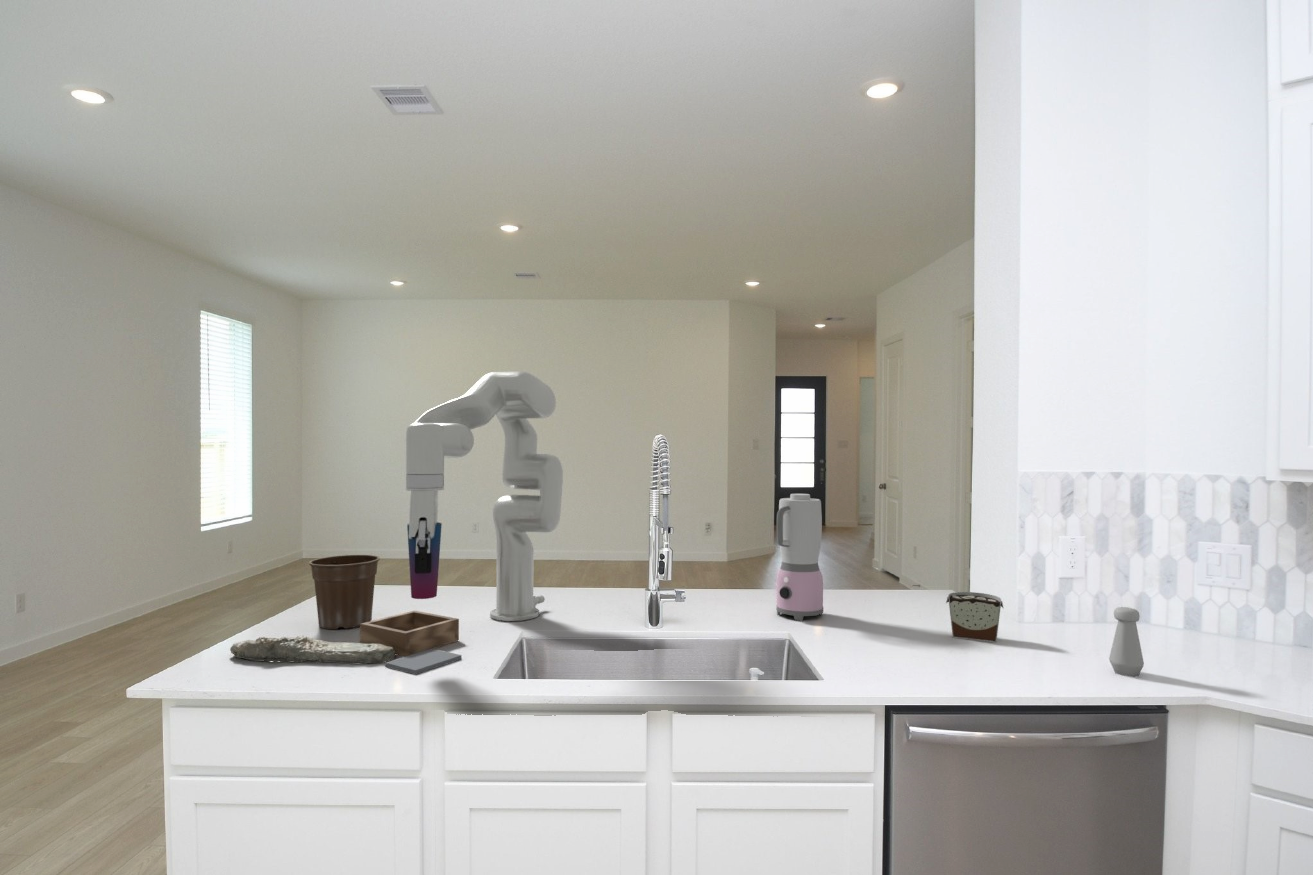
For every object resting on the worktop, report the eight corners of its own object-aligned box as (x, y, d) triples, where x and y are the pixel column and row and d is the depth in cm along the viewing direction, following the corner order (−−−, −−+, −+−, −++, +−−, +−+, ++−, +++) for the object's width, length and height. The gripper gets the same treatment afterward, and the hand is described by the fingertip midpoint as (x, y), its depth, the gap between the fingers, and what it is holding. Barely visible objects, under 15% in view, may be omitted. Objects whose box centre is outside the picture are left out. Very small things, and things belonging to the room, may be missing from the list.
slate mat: (432, 652, 158) (432, 648, 158) (461, 658, 154) (461, 655, 154) (385, 666, 148) (385, 662, 148) (415, 674, 143) (415, 670, 143)
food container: (1003, 636, 173) (1003, 594, 173) (1003, 643, 168) (1003, 599, 168) (947, 630, 178) (947, 589, 178) (945, 636, 173) (946, 594, 173)
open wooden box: (414, 631, 175) (414, 610, 175) (458, 640, 167) (458, 618, 167) (360, 646, 163) (360, 623, 163) (405, 657, 155) (405, 633, 155)
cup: (430, 600, 147) (431, 526, 147) (400, 599, 148) (400, 525, 148) (447, 593, 154) (447, 522, 154) (417, 592, 155) (418, 521, 155)
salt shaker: (1102, 668, 149) (1102, 605, 149) (1129, 668, 149) (1129, 604, 149) (1123, 678, 143) (1123, 611, 143) (1150, 677, 144) (1150, 611, 144)
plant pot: (293, 628, 178) (293, 561, 178) (344, 613, 193) (344, 552, 193) (344, 635, 172) (344, 566, 172) (393, 619, 187) (393, 556, 187)
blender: (795, 607, 202) (796, 491, 202) (833, 615, 193) (833, 494, 193) (758, 616, 192) (759, 494, 192) (796, 625, 183) (797, 497, 183)
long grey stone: (381, 675, 148) (401, 663, 158) (383, 649, 148) (403, 638, 158) (216, 661, 150) (247, 650, 160) (219, 635, 151) (249, 625, 161)
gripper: (410, 480, 159) (409, 563, 158) (401, 485, 142) (400, 578, 142) (446, 480, 160) (445, 562, 160) (441, 485, 143) (440, 577, 143)
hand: (424, 569), depth 151 cm, fingers closed on cup, 6 cm apart
